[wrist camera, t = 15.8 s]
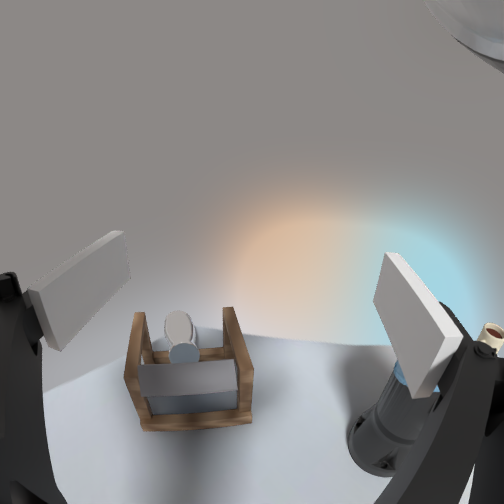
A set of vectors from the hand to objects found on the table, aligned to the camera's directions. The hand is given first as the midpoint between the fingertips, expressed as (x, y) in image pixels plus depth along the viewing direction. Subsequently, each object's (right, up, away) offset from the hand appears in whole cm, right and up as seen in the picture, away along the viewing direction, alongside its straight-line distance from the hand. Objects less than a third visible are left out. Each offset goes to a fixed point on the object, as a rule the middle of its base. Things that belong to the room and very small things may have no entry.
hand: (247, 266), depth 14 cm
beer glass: (-13, -19, +37) cm, 43 cm away
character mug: (+55, -29, +35) cm, 71 cm away
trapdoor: (-10, -20, +27) cm, 35 cm away
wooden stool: (-11, -26, +36) cm, 46 cm away
